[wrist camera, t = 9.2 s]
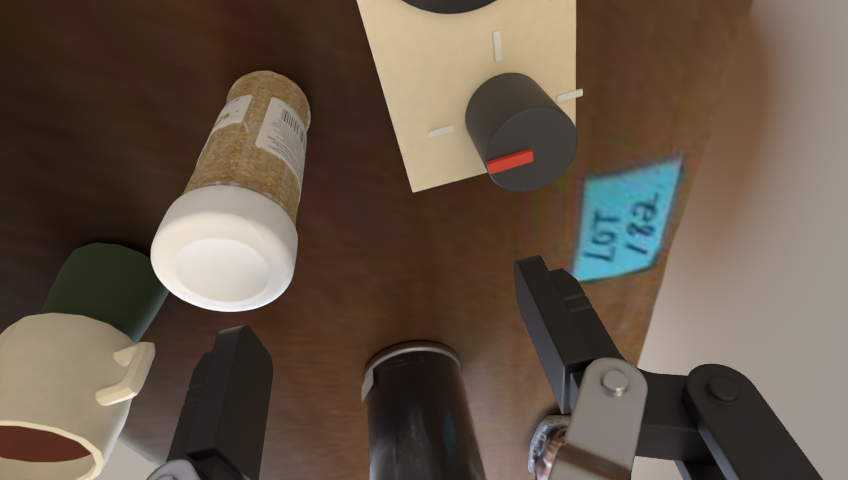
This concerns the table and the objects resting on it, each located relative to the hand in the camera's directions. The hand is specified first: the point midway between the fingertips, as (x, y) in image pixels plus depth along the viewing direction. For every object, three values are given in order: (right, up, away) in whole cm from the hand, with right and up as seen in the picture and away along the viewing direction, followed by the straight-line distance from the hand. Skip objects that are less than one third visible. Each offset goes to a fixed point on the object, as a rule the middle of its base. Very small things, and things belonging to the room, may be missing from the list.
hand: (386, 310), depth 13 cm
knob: (+6, +9, +11) cm, 15 cm away
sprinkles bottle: (-8, +10, +12) cm, 17 cm away
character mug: (-20, 0, +18) cm, 27 cm away
